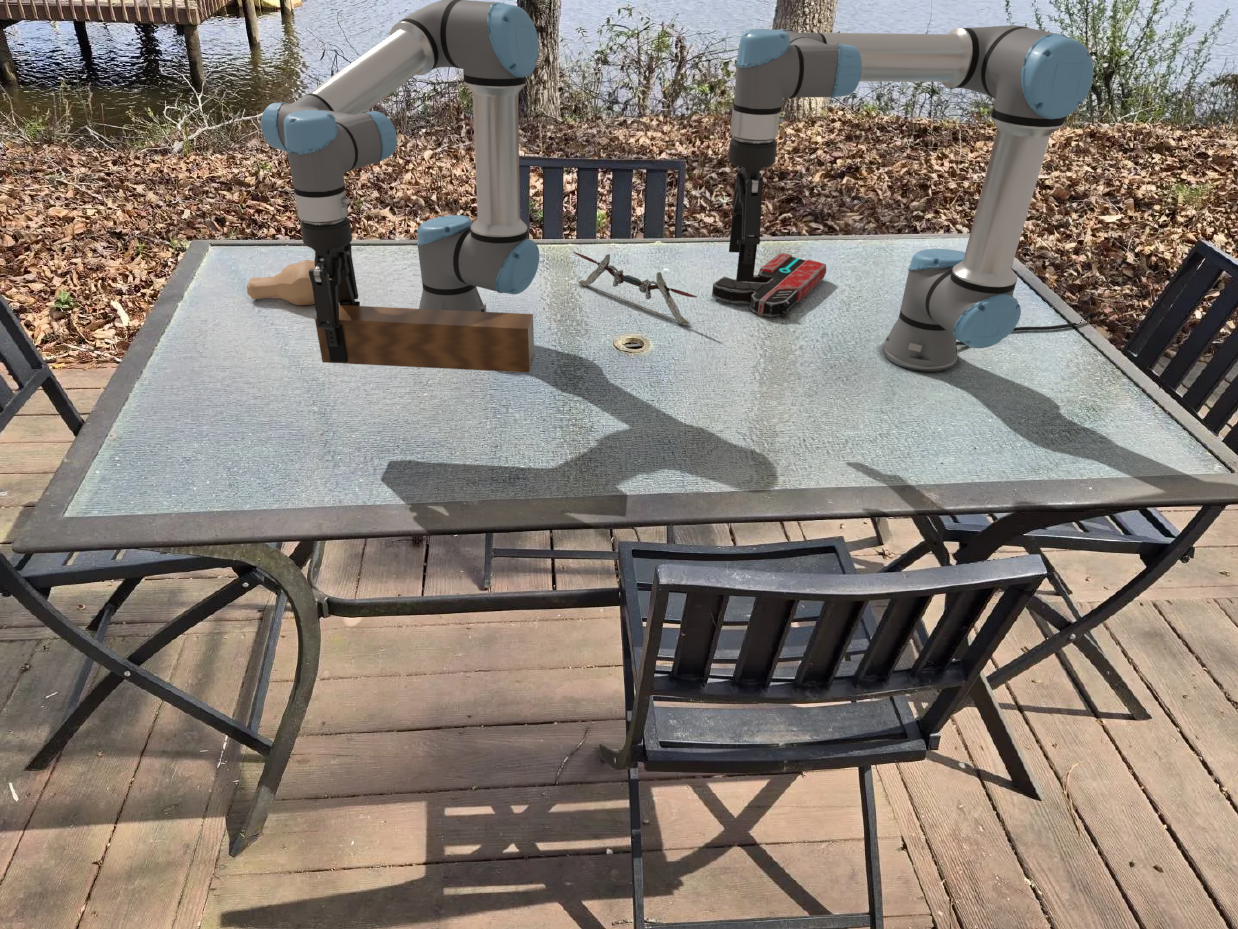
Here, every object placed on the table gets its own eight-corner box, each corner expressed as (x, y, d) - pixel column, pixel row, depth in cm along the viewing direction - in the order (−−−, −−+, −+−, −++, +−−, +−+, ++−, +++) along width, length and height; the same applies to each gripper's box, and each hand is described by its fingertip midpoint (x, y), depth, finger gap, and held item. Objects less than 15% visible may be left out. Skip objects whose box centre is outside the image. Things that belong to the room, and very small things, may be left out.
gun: (708, 284, 207) (784, 305, 199) (760, 245, 229) (831, 262, 221) (706, 302, 209) (781, 323, 201) (758, 261, 231) (828, 278, 223)
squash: (332, 309, 201) (318, 275, 195) (248, 317, 202) (232, 283, 196) (343, 284, 209) (330, 250, 203) (262, 291, 210) (247, 258, 204)
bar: (322, 362, 147) (314, 318, 143) (333, 347, 152) (326, 304, 148) (529, 372, 146) (528, 328, 142) (534, 356, 151) (533, 313, 147)
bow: (697, 327, 197) (701, 285, 192) (692, 329, 196) (696, 287, 191) (576, 279, 219) (576, 241, 213) (571, 281, 218) (571, 242, 212)
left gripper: (327, 239, 129) (349, 379, 141) (366, 201, 144) (382, 330, 157) (277, 237, 129) (304, 377, 142) (321, 199, 145) (341, 328, 157)
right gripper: (789, 159, 129) (771, 294, 141) (767, 120, 150) (753, 241, 162) (738, 157, 129) (724, 293, 141) (723, 119, 150) (713, 240, 162)
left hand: (345, 352), depth 149 cm, fingers closed on bar, 6 cm apart
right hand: (740, 265), depth 151 cm, fingers open, 13 cm apart
